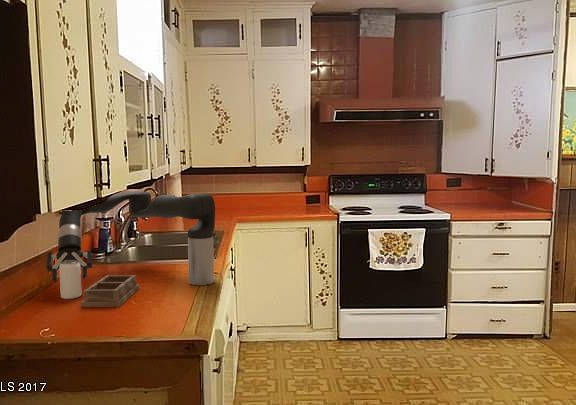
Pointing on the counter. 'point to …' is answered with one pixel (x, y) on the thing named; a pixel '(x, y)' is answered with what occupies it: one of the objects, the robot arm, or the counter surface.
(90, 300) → the tray
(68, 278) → the can
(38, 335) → the counter surface
